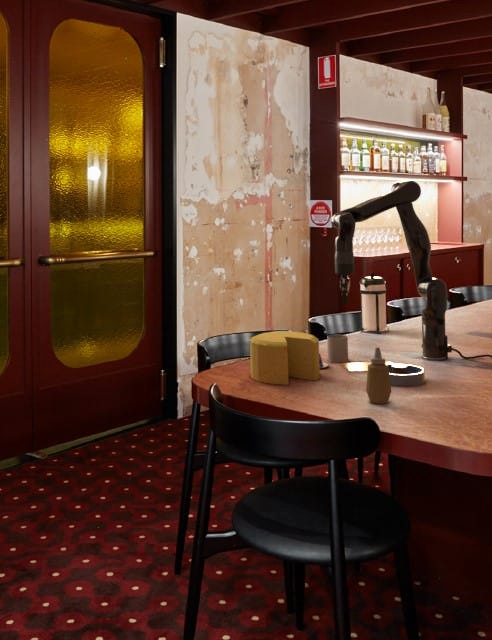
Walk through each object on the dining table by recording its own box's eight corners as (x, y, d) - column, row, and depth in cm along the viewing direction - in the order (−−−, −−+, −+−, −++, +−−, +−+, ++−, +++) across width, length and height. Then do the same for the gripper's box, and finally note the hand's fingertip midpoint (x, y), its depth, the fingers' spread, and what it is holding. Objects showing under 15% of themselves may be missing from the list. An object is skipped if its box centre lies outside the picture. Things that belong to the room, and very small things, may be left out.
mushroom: (404, 378, 265) (404, 364, 265) (409, 381, 259) (408, 367, 259) (390, 378, 265) (389, 364, 265) (394, 382, 259) (393, 367, 259)
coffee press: (395, 333, 355) (393, 272, 355) (362, 334, 355) (360, 273, 355) (385, 327, 372) (384, 269, 372) (354, 328, 372) (353, 270, 372)
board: (392, 364, 290) (392, 361, 290) (402, 372, 276) (402, 369, 276) (342, 365, 290) (342, 362, 290) (350, 373, 276) (350, 371, 276)
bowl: (416, 375, 270) (415, 363, 271) (431, 387, 253) (430, 374, 253) (370, 376, 271) (369, 364, 271) (382, 388, 253) (381, 375, 253)
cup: (348, 362, 294) (347, 338, 294) (327, 362, 296) (327, 338, 296) (348, 358, 302) (347, 334, 302) (328, 358, 304) (327, 334, 304)
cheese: (312, 386, 258) (311, 344, 258) (242, 382, 267) (241, 341, 267) (325, 370, 283) (324, 331, 283) (260, 366, 292) (259, 329, 292)
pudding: (292, 365, 292) (292, 352, 292) (317, 362, 297) (317, 349, 297) (308, 371, 281) (308, 358, 281) (334, 368, 286) (333, 354, 286)
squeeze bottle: (363, 399, 241) (361, 345, 241) (386, 397, 241) (385, 344, 242) (371, 405, 233) (369, 350, 233) (395, 404, 233) (393, 348, 233)
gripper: (352, 263, 280) (354, 305, 280) (355, 260, 294) (356, 300, 293) (333, 263, 282) (334, 305, 282) (336, 260, 296) (337, 300, 296)
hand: (345, 302), depth 288 cm, fingers open, 8 cm apart
